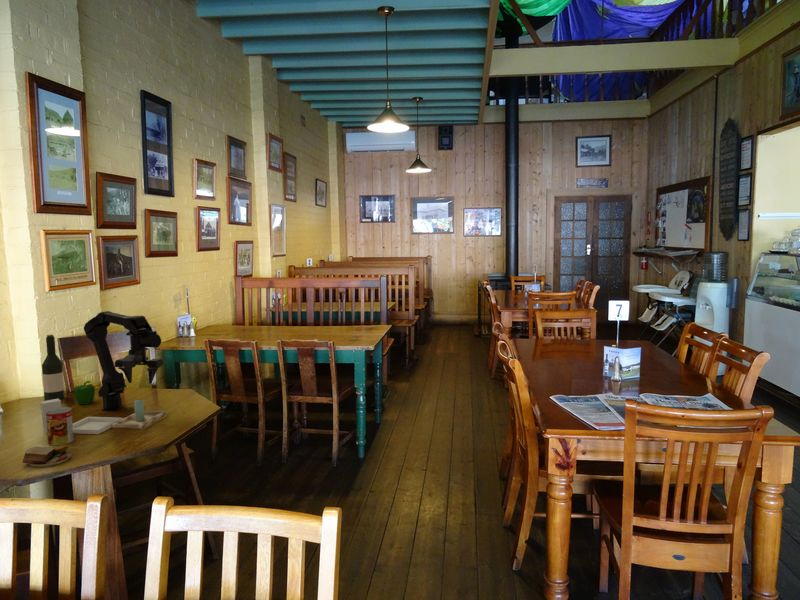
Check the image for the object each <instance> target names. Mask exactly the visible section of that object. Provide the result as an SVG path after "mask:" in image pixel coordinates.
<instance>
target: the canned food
mask: <svg viewBox="0 0 800 600" xmlns="http://www.w3.org/2000/svg"><path fill="white" fill-rule="evenodd" d="M46 420H47V433H46V434H47V443H48V446H49V445H50V446H49V447H59V446H62V445H65V444H66V445H67V444H69V443H71V442H74V433H73V409H72V408H71V407H69V406H63V407H62V406H61V407H60V408H54V409H50V410H48V411H46Z"/></svg>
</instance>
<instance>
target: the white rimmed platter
mask: <svg viewBox="0 0 800 600" xmlns="http://www.w3.org/2000/svg"><path fill="white" fill-rule="evenodd" d="M121 419H123V417H113V416H112V417H108V416H107V417H106V416H104V417H103V416H86V417H85V418H82V419H80V420H78V421H76V422H72V424H73V434H80V435H81V434H83V435H85V434H87V435H99V434H101V433H103V432H105V431H108V430H110V429H111V428H112V424H114V423H116V422H118V421H120V420H121Z"/></svg>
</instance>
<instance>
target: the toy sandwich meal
mask: <svg viewBox="0 0 800 600" xmlns="http://www.w3.org/2000/svg"><path fill="white" fill-rule="evenodd" d="M69 446H70V445H69V444H66V445H64V446H59V447H51V446H49V447H48V446H38V445H35V446H33V447H30V448H28V449H26V450H25V451H24V455H23V458H22V463H23V464H27V465H29V466H31V467H32V468H48V467H49V466H50V467H53V465H55V466H57V464H58V465H61V464H64V463H66V462H67V461H69V460H70V459H69V458H71V457H72V456H73V454H72V452H70V451H68V449H69ZM68 459H69V460H68ZM65 461H66V462H65ZM63 462H64V463H63ZM60 463H61V464H60ZM50 467H49V468H50Z"/></svg>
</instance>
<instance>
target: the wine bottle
mask: <svg viewBox="0 0 800 600" xmlns="http://www.w3.org/2000/svg"><path fill="white" fill-rule="evenodd" d="M55 340H56V339H55V336H54V334H47V335H46V337H45V342H46V343H45V344H46V356H45V359H44V360H43V362H42V364H41V370H42V383H43V384H42V385H43V397H44V401H48V400H53V399H59V400H61V401H62V400H65V398H66V392H65V379H64V365H63V361H62V360H61V359H60V357H59V356H58V355H57V353H56V352H57V350H56V341H55Z"/></svg>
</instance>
